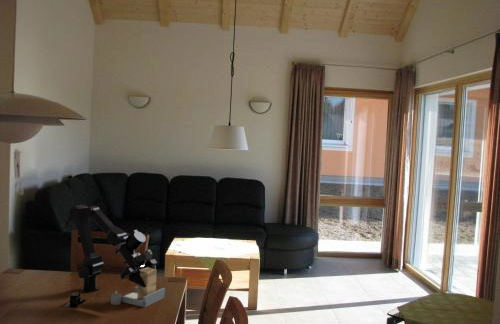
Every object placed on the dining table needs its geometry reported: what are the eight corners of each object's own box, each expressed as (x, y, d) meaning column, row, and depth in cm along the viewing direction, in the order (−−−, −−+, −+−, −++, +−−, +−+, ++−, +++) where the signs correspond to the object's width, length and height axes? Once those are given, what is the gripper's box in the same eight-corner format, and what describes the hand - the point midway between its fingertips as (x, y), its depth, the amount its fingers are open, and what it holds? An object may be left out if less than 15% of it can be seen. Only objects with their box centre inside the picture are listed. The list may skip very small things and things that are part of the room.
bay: (106, 305, 190) (107, 291, 189) (135, 293, 206) (136, 279, 206) (137, 313, 183) (137, 298, 183) (164, 299, 200) (165, 285, 199)
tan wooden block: (137, 300, 193) (138, 270, 193) (146, 296, 199) (147, 267, 198) (147, 303, 191) (147, 272, 191) (155, 298, 197) (156, 269, 196)
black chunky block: (76, 310, 185) (77, 299, 185) (59, 309, 185) (59, 298, 185) (89, 300, 197) (89, 289, 197) (72, 299, 198) (73, 288, 197)
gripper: (126, 249, 187) (147, 279, 183) (154, 240, 204) (173, 268, 200) (111, 264, 191) (131, 295, 187) (139, 255, 208) (158, 283, 204)
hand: (149, 285), depth 194 cm, fingers closed on tan wooden block, 6 cm apart
